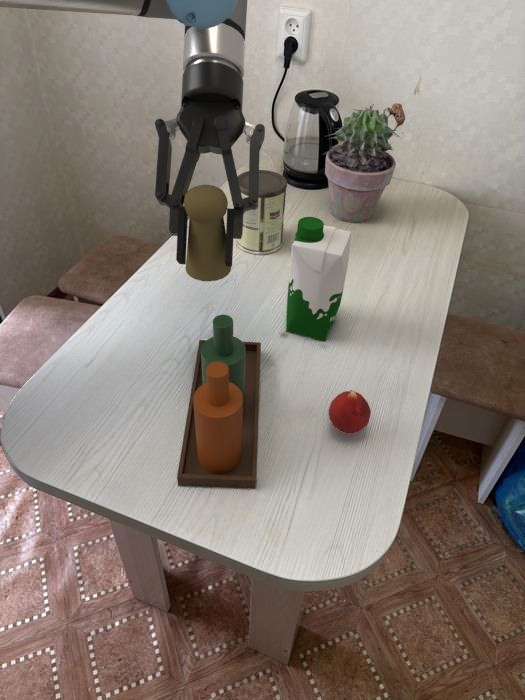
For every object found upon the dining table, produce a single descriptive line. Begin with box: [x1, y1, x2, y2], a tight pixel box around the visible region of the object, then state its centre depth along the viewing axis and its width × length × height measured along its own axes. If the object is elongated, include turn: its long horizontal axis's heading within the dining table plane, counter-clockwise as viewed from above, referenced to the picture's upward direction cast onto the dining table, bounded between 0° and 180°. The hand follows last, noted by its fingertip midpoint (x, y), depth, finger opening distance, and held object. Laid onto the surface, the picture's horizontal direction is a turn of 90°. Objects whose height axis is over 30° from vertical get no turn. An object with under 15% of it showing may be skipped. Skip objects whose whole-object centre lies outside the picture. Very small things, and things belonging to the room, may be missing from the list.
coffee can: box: [235, 169, 288, 256], centre depth 105 cm, size 10×10×14 cm
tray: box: [176, 339, 262, 490], centre depth 75 cm, size 10×26×2 cm, turn 179°
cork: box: [183, 184, 232, 282], centre depth 63 cm, size 6×6×11 cm
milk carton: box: [285, 216, 352, 342], centre depth 84 cm, size 9×9×20 cm
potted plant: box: [315, 102, 406, 224], centre depth 113 cm, size 18×20×25 cm
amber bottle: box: [193, 362, 243, 474], centre depth 63 cm, size 6×6×17 cm
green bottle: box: [201, 314, 246, 412], centre depth 69 cm, size 6×6×17 cm
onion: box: [328, 389, 372, 435], centre depth 71 cm, size 6×6×8 cm
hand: (204, 262), depth 62 cm, fingers closed on cork, 5 cm apart
